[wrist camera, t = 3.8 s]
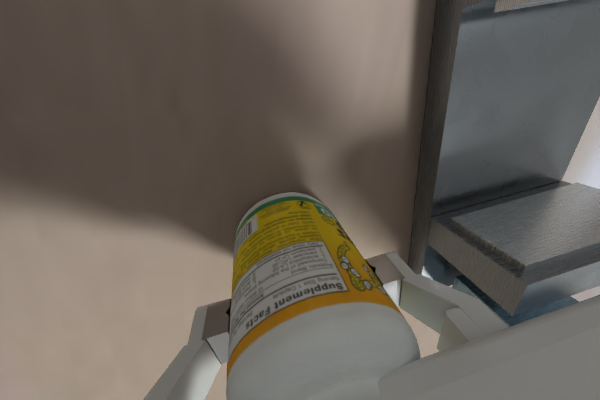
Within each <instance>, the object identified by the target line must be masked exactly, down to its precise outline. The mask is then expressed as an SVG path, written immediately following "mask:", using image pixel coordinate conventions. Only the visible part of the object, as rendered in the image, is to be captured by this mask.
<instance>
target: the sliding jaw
mask: <svg viewBox="0 0 600 400" xmlns="http://www.w3.org/2000/svg"><path fill="white" fill-rule="evenodd" d="M427 243H428V244H429V245H430V246H431V247H432V248H433V249H435V250H436V251H437V252H438V253H439V254H440V255H442V256H443V257H444V258H445V259H446V260H447V261H449V262H450V263H451V264H452V265H453V266H454V267H456V268H457V269H458V270H459V271H460V272H461V273H463V274H461V275H458V276H455V279H454V283H453V287H452V288H453V289H456V290H458V291H460V292H463V293H465V294H468V295H470V296H472V297H475V298H477V299H479V300H480V301H481V302H482V303H483V304H484V305H485V306H486V307H487V308H489V309H490V310H491V311H492V312H493V313H494V314H495V315H496V316H497V317H498V318H500V319H501V320H502V321H503V322H504V323H505V324H506V325H507V326H508V327H511V326H513V325H516V324H519V323H522V322H525V321H527V320H530V319H533V318H536V317H539V316H541V315H544V314H547V313H550V312H553V311H556V310H558V309H561V308H564V307H567V306H570V305H572V304H575V303H578V302H579V301H577V300H576V299H574V298H572V297H571V295H574V294H577V293H580V292H583V291H586V290H588V289H591V288H594V287H597V286H600V189H597V188H593V187H590V186H587V185H583V184H580V183H574V184H570V183H567V182H564V181H561V182H557V183H553V184H550V185H546V186H542V187H539V188H535V189H532V190H528V191H524V192H521V193H517V194H513V195H510V196H506V197H503V198H499V199H495V200H492V201H488V202H485V203H481V204H477V205H474V206H470V207H466V208H463V209H459V210H456V211H452V212H448V213H445V214H441V215H437V216H434V217H431V220H430V227H429V233H428V240H427Z"/></svg>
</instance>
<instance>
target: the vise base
mask: <svg viewBox="0 0 600 400" xmlns="http://www.w3.org/2000/svg"><path fill="white" fill-rule="evenodd" d="M599 96H600V0H437V5H436V14H435V23H434V33H433V42H432V51H431V60H430V69H429V79H428V88H427V97H426V106H425V115H424V125H423V134H422V143H421V152H420V161H419V171H418V180H417V189H416V198H415V207H414V216H413V226H412V235H411V244H410V253H409V262H408V266H409V267H410V269H411V270H412V271H413V272H414V273H415V274H416V275H417V274H420V275H423V276H425V277H427V278H430V279H432V280H435V281H437V282H439V283H442V284H444V285H446V286H450V285H453V283H454V279H455V276H458V275H461V274H463V273H461V272H460V271H459V270H458V269H457V268H456V267H454V266H453V265H452V264H451V263H450V262H449V261H447V260H446V259H445V258H444V257H443V256H442V255H440V254H439V253H438V252H437V251H436V250H435V249H433V248H432V247H431V246H430V245H429V244H428V243H427V240H428V233H429V227H430V220H431V217H434V216H437V215H441V214H445V213H448V212H452V211H456V210H459V209H463V208H466V207H470V206H474V205H477V204H481V203H485V202H488V201H492V200H495V199H499V198H503V197H506V196H510V195H513V194H517V193H521V192H524V191H528V190H532V189H535V188H539V187H542V186H546V185H550V184H553V183H557V182H561V180H562V178H563V176H564V174H565V171H566V169H567V167H568V165H569V163H570V160H571V158H572V156H573V154H574V152H575V149H576V147H577V145H578V143H579V141H580V138H581V136H582V134H583V132H584V130H585V127H586V125H587V123H588V121H589V118H590V116H591V114H592V112H593V110H594V107H595V105H596V103H597V101H598V99H599Z"/></svg>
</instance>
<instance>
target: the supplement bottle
mask: <svg viewBox="0 0 600 400" xmlns="http://www.w3.org/2000/svg"><path fill="white" fill-rule="evenodd" d="M418 359H420V351H419V346H418V343H417V339H416V337H415V335H414V333H413V331H412V329H411V327H410V326H409V324H408V323H407V321H406V320H405V318H404V317H403V315H402V314H401V312H400V311H399V309H398V308H397V306H396V304H395V303H394V302H393V300H392V299H391V297H390V296H389V294H388V293H387V292H386V290H385V289H384V287H383V286H382V284H381V283H380V282H379V280H378V279H377V277H376V276H375V274H374V273H373V271H372V270H371V268H370V267H369V265H368V264H367V263H366V261H365V260H364V258H363V257H362V255H361V254H360V252H359V251H358V249H357V248H356V246H355V245H354V244H353V242H352V241H351V239H350V238H349V237H348V235H347V234H346V232H345V231H344V229H343V228H342V226H341V225H340V223H339V222H338V221H337V219H336V217H335V216H334V215H333V213H332V212H331V211H330V210H329V208H328V207H326V206H325V205H324V204H323V203H322V202H320V201H318V200H317V199H315V198H313V197H311V196H309V195H306V194H302V193H297V192H287V193H280V194H276V195H273V196H270V197H268V198H265V199H263V200H261V201H259V202H258V203H257V204H255V205H254V206H253V207H252V208H251V209H250V210H249V211H248V212H247V213H246V214H245V215H244V217H243V218H242V220H241V221H240V224H239V226H238V228H237V231H236V236H235V245H234V261H233V280H232V298H231V313H230V330H229V347H228V362H227V387H226V396H227V400H381V398H380V393H379V387H378V381H379V379H380V378H381V377H382V376H384V375H386V374H388V373H390V372H392V371H393V370H395V369H397V368H399V367H401V366H402V365H404V364H407V363H409V362H412V361H415V360H418Z"/></svg>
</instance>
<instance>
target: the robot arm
mask: <svg viewBox="0 0 600 400" xmlns="http://www.w3.org/2000/svg"><path fill="white" fill-rule="evenodd" d="M364 260H365V261H366V263H367V264H368V265H369V267H370V268H371V270H372V271H373V273H374V274H375V276H376V277H377V279H378V280H379V282H380V283H381V284H382V286H383V287H384V289H385V290H386V292H387V293H388V294H389V296H390V297H391V299H392V300H393V302H394V303H395V304H396V306H397V307H399V306H400V308H402V309H403V310H405V311H406V312H408V313H409V314H411V315H412V316H414V317H415V318H417V319H418V320H420V321H421V322H423V323H424V324H426V325H427V326H429V327H430V328H432V329H433V330H435V331H436V332H438V333H439V334H440V337H439V341H438V345H437V349H438V350H439V352H437V353H435V354H432V355H429V356H426V357H423V358H421V359H418V360H415V361H412V362H409V363H407V364H404V365H402V366H401V367H399V368H397V369H395V370H393V371H392V372H390V373H388V374H386V375H384V376H382V377H381V378H380V379H379V381H378V387H379V393H380V398H381V400H600V295H598V296H595V297H592V298H589V299H587V300H584V301H581V302H578V303H575V304H572V305H570V306H567V307H564V308H561V309H558V310H556V311H553V312H550V313H547V314H544V315H541V316H539V317H536V318H533V319H530V320H527V321H525V322H522V323H519V324H516V325H513V326H511V327H508V326H507V325H506V324H505V323H504V322H503V321H502V320H501V319H500V318H498V317H497V316H496V315H495V314H494V313H493V312H492V311H491V310H490V309H489V308H487V307H486V306H485V305H484V304H483V303H482V302H481V301H480V300H479V299H477V298H475V297H472V296H470V295H468V294H465V293H463V292H460V291H458V290H456V289H453V288H451V287H449V286H446V285H444V284H442V283H439V282H437V281H435V280H432V279H430V278H427V277H425V276H423V275H420V274H417V275H416V274H415V273H414V272H413V271H412V270H411V269H410V267H409V266H408V265H407V264H406V263H405V262H404V261H403V260H402V259H401V258H400V257H399V256H398V254H397V253H396V252H394V251H391V252H388V253H385V254H381V255H378V256H374V257H371V258H368V259H364ZM230 313H231V299H227V300H223V301H219V302H215V303H211V304H208V305H205V306H201V307H198V308H197V309H196V311H195V315H194V319H193V323H192V328H191V332H190V337H189V341H188V345H186V346H184V347H183V348H182V349H181V351H180V352H179V353H178V355H177V356H176V357H175V359H174V360H173V361H172V363H171V364H170V365H169V366H168V368H167V369H166V370H165V372H164V373H163V374H162V376H161V377H160V378H159V380H158V381H157V382H156V384H155V385H154V386H153V388H152V389H151V390H150V392H149V393H148V394H147V396H146V397H145V398H144V400H204V399H205V397H206V395H207V393H208V391H209V389H210V387H211V385H212V383H213V381H214V379H215V377H216V375H217V373H218V371H219V369H220V367H221V364H222V363H225V362H228V347H229V330H230Z"/></svg>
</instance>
